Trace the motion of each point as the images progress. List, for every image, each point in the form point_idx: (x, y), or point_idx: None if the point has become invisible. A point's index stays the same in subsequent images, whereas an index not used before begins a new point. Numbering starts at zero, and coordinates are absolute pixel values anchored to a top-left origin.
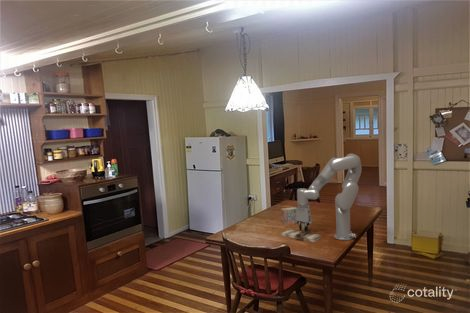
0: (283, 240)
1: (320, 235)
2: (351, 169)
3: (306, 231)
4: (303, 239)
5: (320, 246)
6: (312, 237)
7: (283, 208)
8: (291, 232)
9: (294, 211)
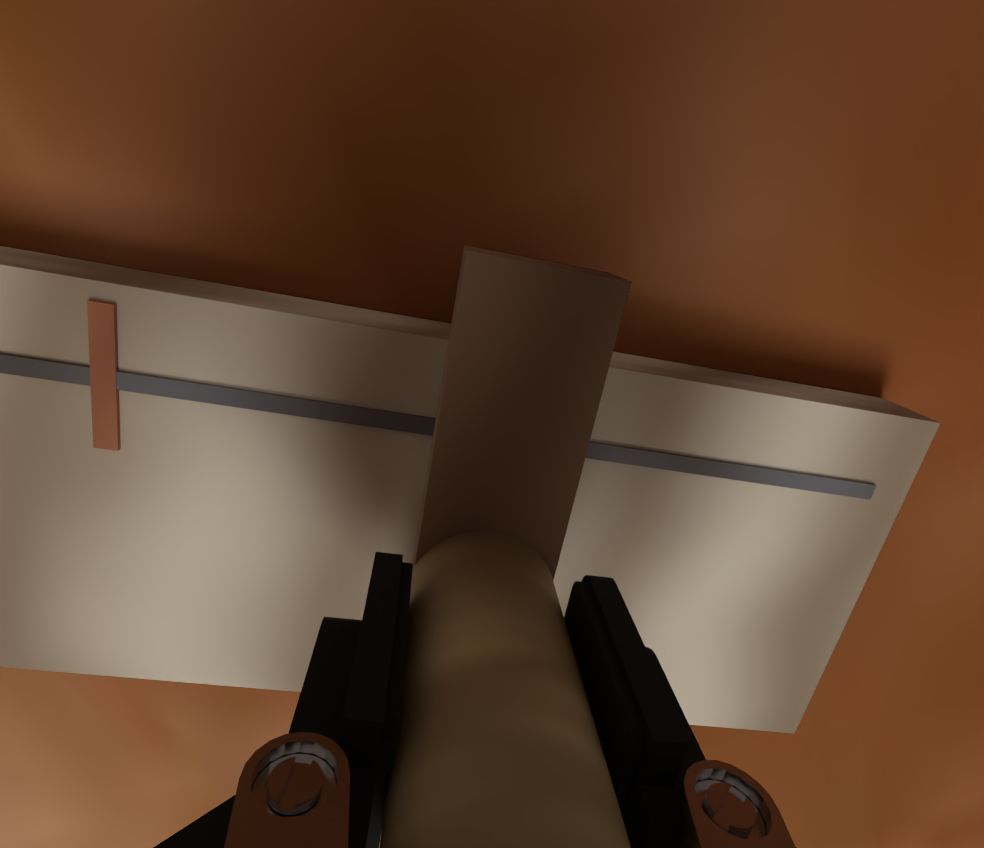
0: (127, 814)
1: (931, 430)
2: None
3: (545, 506)
4: None
5: (882, 804)
6: (740, 650)
7: None
8: (32, 500)
9: None
